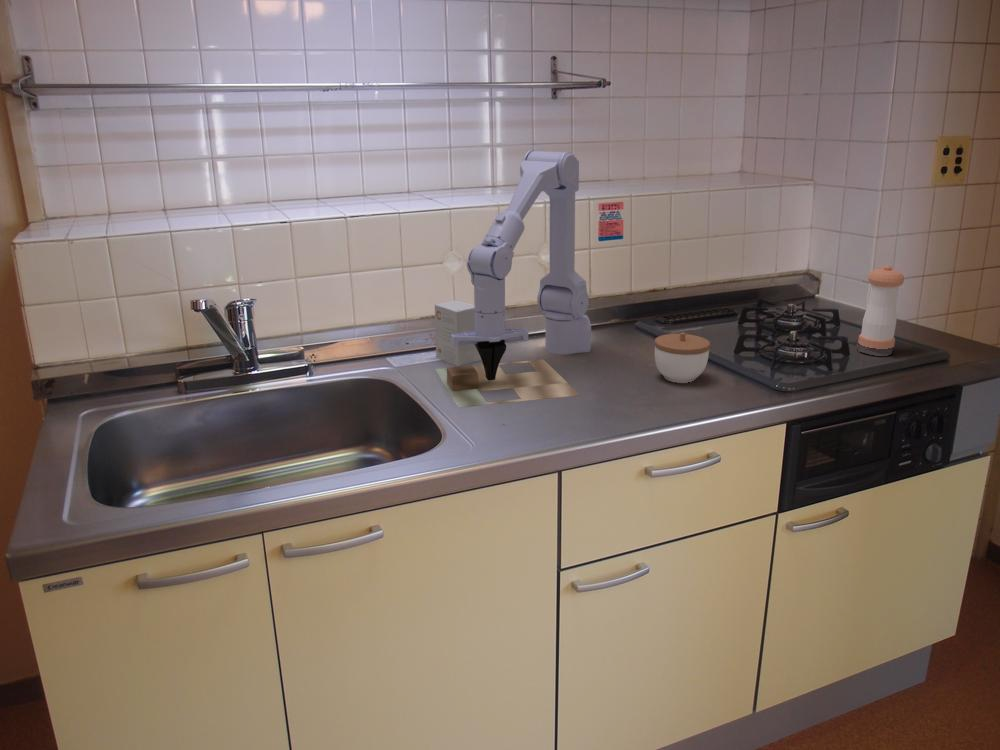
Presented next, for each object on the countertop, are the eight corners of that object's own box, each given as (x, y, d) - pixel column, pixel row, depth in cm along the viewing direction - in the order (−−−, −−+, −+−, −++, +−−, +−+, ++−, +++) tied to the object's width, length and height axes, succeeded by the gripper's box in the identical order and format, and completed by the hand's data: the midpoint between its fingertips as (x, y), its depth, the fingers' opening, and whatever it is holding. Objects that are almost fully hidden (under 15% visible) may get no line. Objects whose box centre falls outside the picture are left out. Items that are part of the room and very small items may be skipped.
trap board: (543, 366, 171) (543, 359, 170) (579, 402, 151) (580, 395, 150) (435, 376, 165) (434, 369, 165) (458, 415, 145) (458, 407, 145)
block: (472, 379, 159) (472, 365, 158) (478, 388, 154) (478, 373, 153) (447, 382, 157) (446, 367, 156) (452, 391, 153) (452, 375, 152)
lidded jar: (717, 377, 164) (721, 332, 161) (689, 391, 156) (692, 344, 153) (670, 366, 171) (673, 322, 168) (642, 378, 163) (644, 333, 160)
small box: (482, 366, 171) (481, 306, 167) (458, 373, 167) (456, 311, 163) (459, 357, 177) (458, 299, 172) (435, 363, 173) (433, 303, 169)
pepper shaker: (898, 357, 176) (913, 269, 169) (864, 357, 176) (878, 269, 169) (884, 347, 183) (897, 262, 176) (851, 347, 183) (863, 262, 176)
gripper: (456, 318, 147) (457, 389, 151) (533, 312, 150) (532, 381, 155) (448, 308, 153) (450, 376, 158) (522, 303, 157) (522, 370, 161)
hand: (490, 378), depth 157 cm, fingers closed
